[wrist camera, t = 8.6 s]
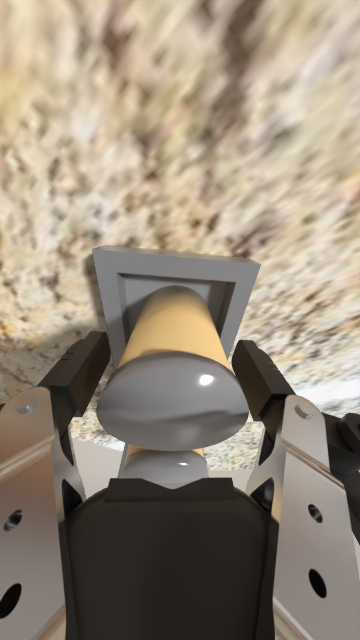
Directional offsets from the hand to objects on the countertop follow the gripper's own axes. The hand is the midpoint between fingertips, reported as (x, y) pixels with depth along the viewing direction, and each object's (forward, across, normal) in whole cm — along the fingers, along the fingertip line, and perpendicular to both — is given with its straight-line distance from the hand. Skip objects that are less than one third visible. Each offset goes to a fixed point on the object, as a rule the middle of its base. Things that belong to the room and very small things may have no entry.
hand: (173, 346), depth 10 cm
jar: (+4, 0, 0) cm, 4 cm away
